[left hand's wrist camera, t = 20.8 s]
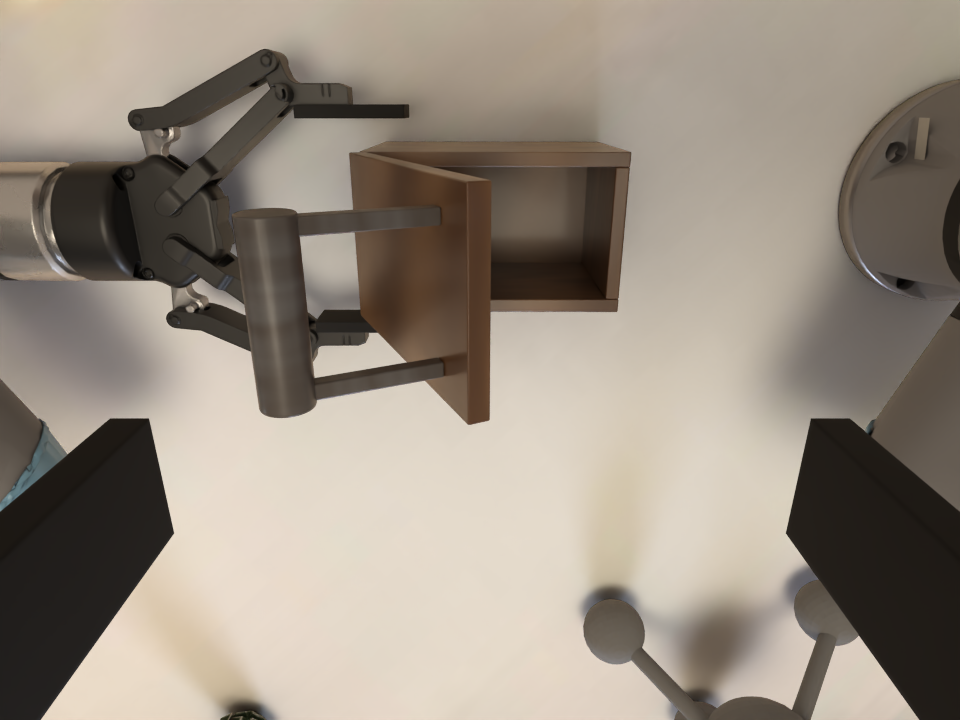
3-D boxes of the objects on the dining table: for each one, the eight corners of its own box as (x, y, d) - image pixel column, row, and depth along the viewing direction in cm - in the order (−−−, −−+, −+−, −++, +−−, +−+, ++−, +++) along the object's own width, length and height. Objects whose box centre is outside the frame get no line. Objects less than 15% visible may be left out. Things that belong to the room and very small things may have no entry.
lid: (492, 180, 22) (235, 192, 18) (490, 420, 25) (274, 468, 22) (366, 151, 35) (202, 156, 31) (376, 313, 38) (229, 333, 35)
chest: (598, 141, 45) (631, 152, 35) (589, 270, 48) (617, 312, 39) (385, 141, 45) (359, 151, 35) (392, 270, 48) (369, 311, 39)
